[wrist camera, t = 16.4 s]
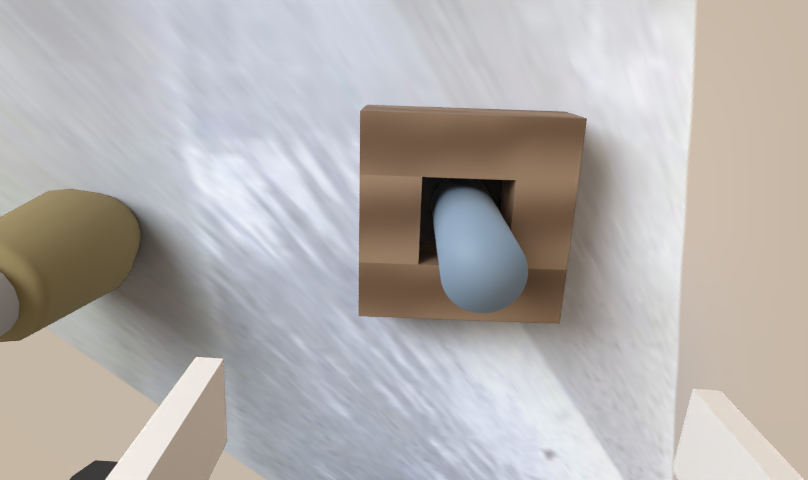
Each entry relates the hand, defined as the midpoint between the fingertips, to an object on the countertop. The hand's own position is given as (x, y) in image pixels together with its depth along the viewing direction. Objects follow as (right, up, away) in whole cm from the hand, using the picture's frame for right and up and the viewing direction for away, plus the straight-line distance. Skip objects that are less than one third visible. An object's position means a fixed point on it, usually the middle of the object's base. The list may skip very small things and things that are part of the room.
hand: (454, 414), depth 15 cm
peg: (+3, +8, +25) cm, 27 cm away
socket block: (+3, +8, +25) cm, 27 cm away
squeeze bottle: (-24, +6, +27) cm, 37 cm away
